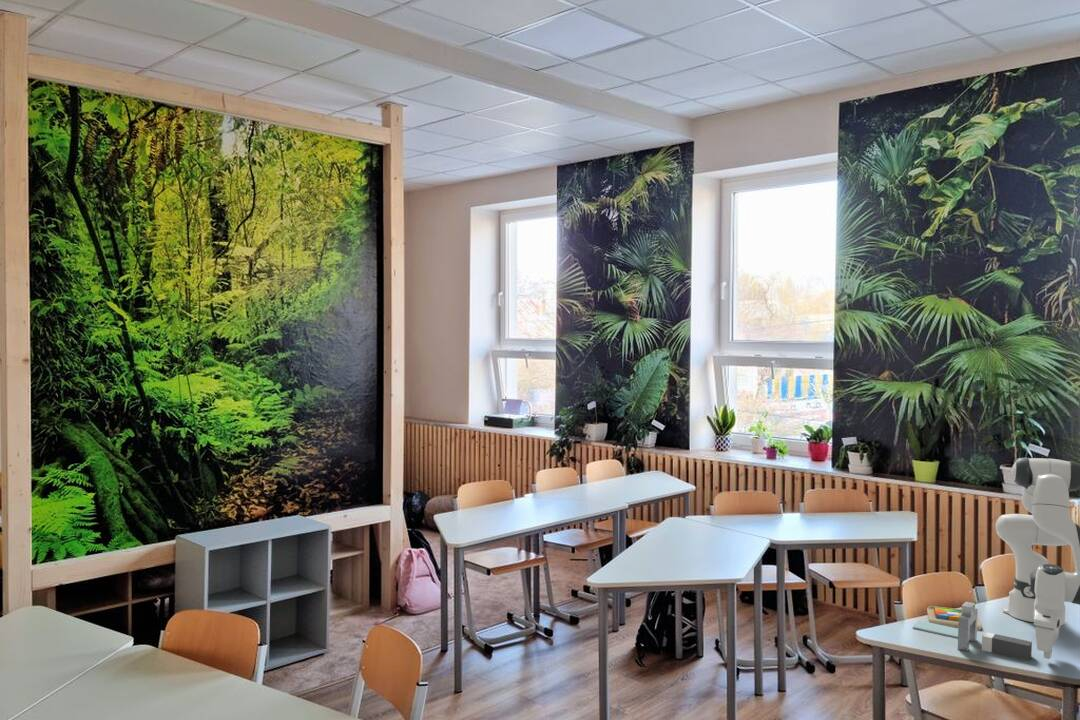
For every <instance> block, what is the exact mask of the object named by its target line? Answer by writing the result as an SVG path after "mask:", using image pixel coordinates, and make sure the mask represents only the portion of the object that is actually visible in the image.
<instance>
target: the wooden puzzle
mask: <svg viewBox="0 0 1080 720" xmlns="http://www.w3.org/2000/svg"><path fill="white" fill-rule="evenodd" d="M926 613H927V616H928V622H929V623H934V624H939V625H943V626H948V627H953V628H957V629H958V623H959V616H960V615H961V614H962V608H952V607H945V606H943V607H942V606H934V605H929V606H928V607H927V608H926ZM982 628H983V627H982V624H981V621H980V620H979V617H978V616H977V630H978V631H977V632H979V631H981V630H982Z"/></svg>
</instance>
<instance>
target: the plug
mask: <svg viewBox="0 0 1080 720" xmlns="http://www.w3.org/2000/svg"><path fill="white" fill-rule="evenodd" d="M1032 646H1033V641H1032V640H1031V641H1030V640H1025V639H1020V638H1015V637H1013V636H1012V637H1011V636H1005V635H1001V634H996V633H991V632H988V631H984V633H983V634H982V635H981V651H983V652H987V651H988V653H991V652H992V654H997V655H1000V656H1004V657H1005V656H1006V657H1010V658H1013V659H1017V660H1023V661H1028V662H1029V661H1030V660H1031V658H1032V652H1033V651H1032V650H1033V649H1032V648H1033V647H1032Z"/></svg>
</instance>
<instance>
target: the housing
mask: <svg viewBox="0 0 1080 720" xmlns="http://www.w3.org/2000/svg"><path fill="white" fill-rule="evenodd" d="M961 610H962V614H961V615H960V616H959V623H958V628H957V629H958V638H957V650H958V651H964V652H968V651H969V650H970V642H974V643H975V642H976V641H977V635H978V633H977V632H978V631H977V617H978V608H976V603H975V602H972V601H971V602H970V601H965V602H964V603H962V605H961Z"/></svg>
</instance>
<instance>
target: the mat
mask: <svg viewBox="0 0 1080 720" xmlns="http://www.w3.org/2000/svg"><path fill="white" fill-rule="evenodd" d="M912 629H914V630H919V631H923V632H928V633H930V634H931V633H932V634H937V635H942V636H945V637H950V638H955V639H958V628H954V627H948V626H943V625H939V624H934V623H930V622H929V621H923V620H919V621H918V622H916V623H915V624H914V625H913V626H912Z"/></svg>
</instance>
